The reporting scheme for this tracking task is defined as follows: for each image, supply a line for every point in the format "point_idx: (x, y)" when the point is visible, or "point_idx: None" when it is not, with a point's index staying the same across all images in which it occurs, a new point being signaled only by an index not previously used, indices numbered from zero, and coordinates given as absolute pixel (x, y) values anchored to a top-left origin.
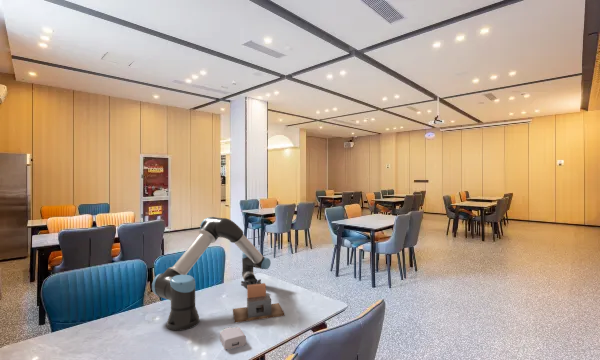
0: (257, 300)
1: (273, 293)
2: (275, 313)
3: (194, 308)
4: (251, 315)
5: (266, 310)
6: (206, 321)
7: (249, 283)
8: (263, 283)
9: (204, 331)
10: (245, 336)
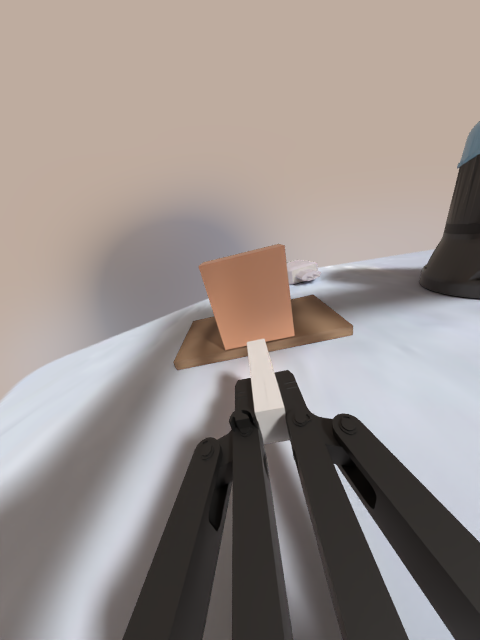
0: None
1: (55, 631)
2: (213, 318)
3: (447, 240)
4: None
5: None
6: (406, 295)
7: (354, 530)
8: (205, 264)
9: (369, 280)
10: None
